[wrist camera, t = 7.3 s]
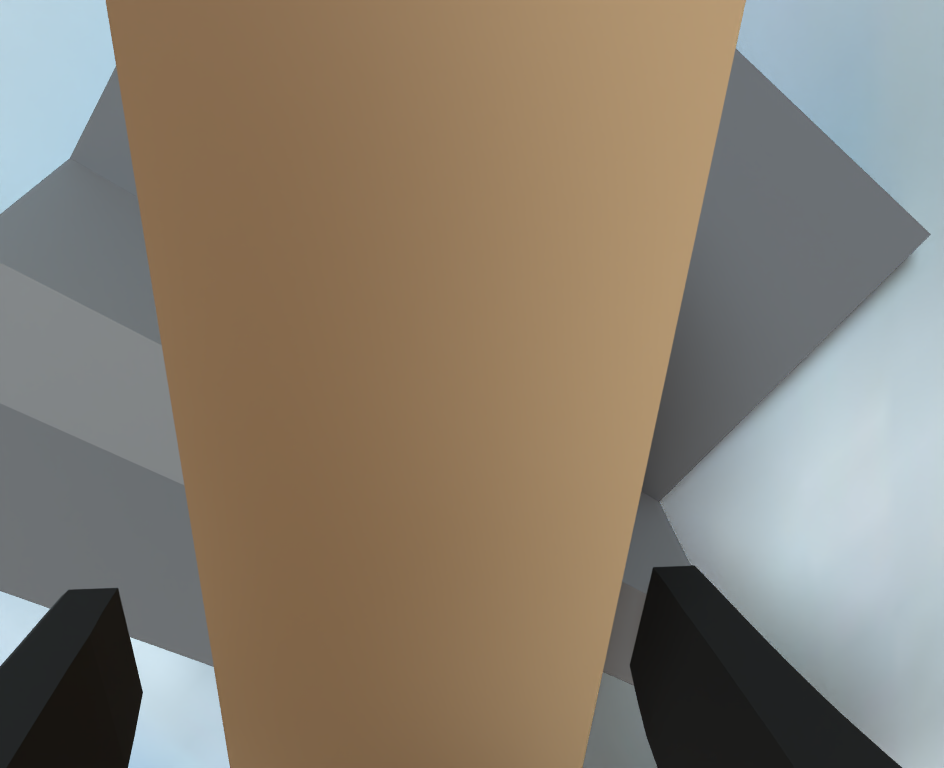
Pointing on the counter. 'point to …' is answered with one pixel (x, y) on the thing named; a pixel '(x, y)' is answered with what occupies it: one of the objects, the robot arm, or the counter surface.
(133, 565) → the stand
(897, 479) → the counter surface
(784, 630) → the counter surface
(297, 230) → the wooden block
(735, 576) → the counter surface
